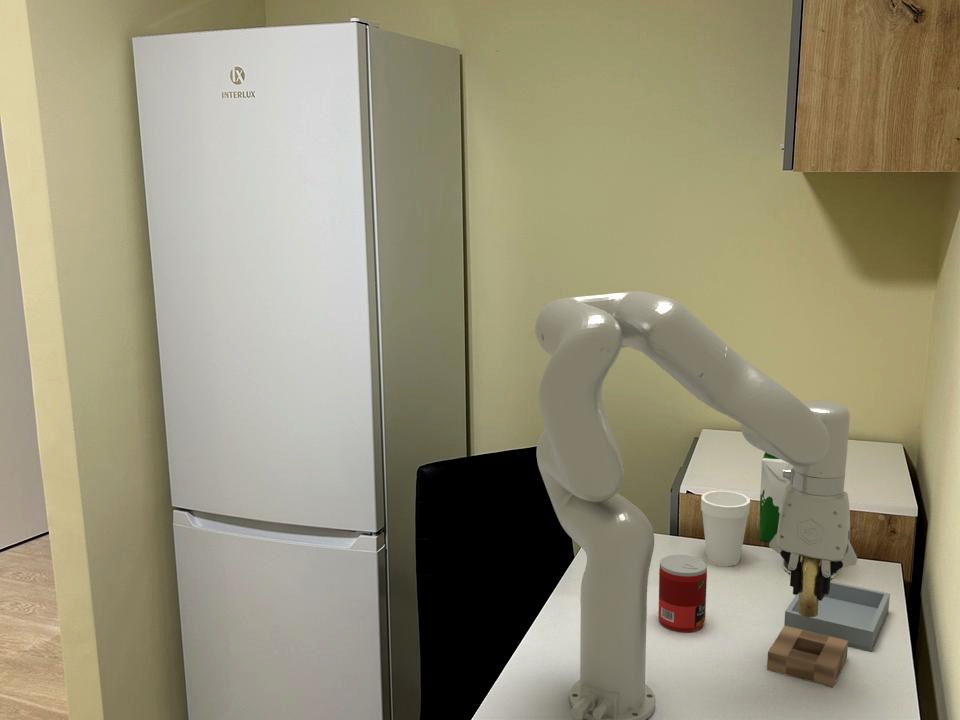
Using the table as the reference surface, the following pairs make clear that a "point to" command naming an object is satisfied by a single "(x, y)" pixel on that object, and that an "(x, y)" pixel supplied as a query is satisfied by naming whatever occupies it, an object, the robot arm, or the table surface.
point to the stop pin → (809, 586)
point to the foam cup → (724, 525)
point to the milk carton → (771, 494)
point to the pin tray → (845, 615)
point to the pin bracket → (808, 655)
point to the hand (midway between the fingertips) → (809, 593)
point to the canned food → (682, 592)
